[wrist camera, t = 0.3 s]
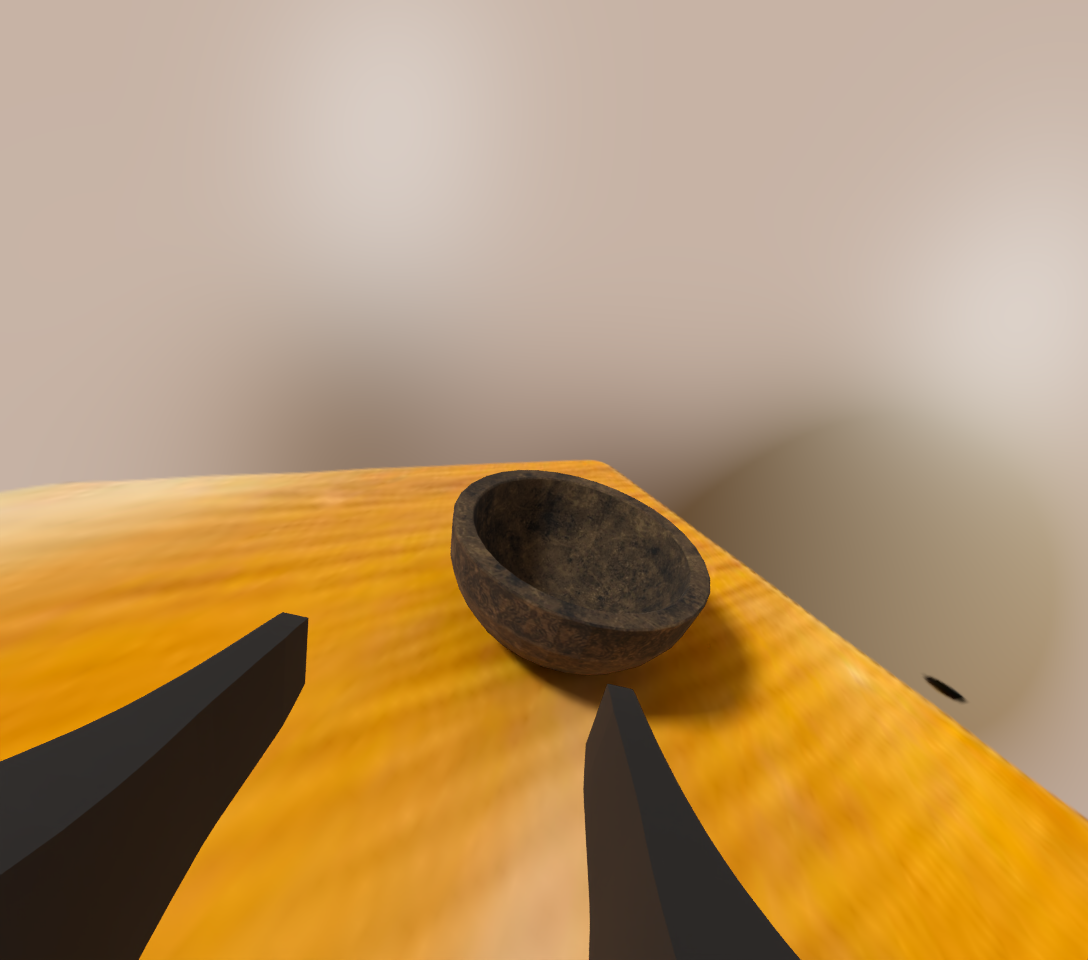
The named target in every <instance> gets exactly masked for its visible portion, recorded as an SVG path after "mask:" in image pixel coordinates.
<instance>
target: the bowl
mask: <svg viewBox="0 0 1088 960" xmlns="http://www.w3.org/2000/svg"><path fill="white" fill-rule="evenodd" d="M451 560H452V564H453V569H454V573H455V576H456V580H457V583H458V586H459V589H460V591H461V593H462V595H463V597H464V599H465V601H466V603H467V605H468V607H469V608H470V609H471V611H472V612H473V614H474V615H475V617H476V618H477V619H478V620H479V622H480V623H481V624H482V625H483V627H484V628H485V629H486V631H487V632H488V633H489V634H491V635H492V636H493V637H494V638H495V639H496V640H497V641H499V642H500V643H501V644H502V645H503V646H505V647H506V648H508V649H509V650H511V651H513V652H514V653H516V654H517V655H519V656H520V657H522V658H525V659H527V660H529V661H531V662H533V663H536V664H538V665H540V666H543V667H546V668H550V669H553V670H557V671H560V672H564V673H572V674H580V675H598V674H608V673H613V672H617V671H622V670H626V669H630V668H634V667H638V666H640V665H642V664H644V663H646V662H647V661H649V660H651V659H653V658H655V657H656V656H658V655H660V654H662V653H663V652H665V651H667V650H668V649H670V648H671V647H672V646H673V645H674V644H675V643H676V642H677V641H678V640H679V639H680V638H681V637H682V636H683V634H684V633H685V632H686V630H687V629H688V628H689V627H690V625H691V624H692V623H693V621H694V620H695V619H696V617H697V616H698V615H699V613H700V612H701V611H702V609H703V608H704V607H705V604H706V602H707V599H708V597H709V594H710V577H709V574H708V571H707V568H706V564H705V562H704V560H703V559H702V557H701V555H700V554H699V552H698V550H697V549H696V547H695V546H694V545H693V544H692V543H691V541H690V540H689V539H688V538H687V537H686V536H685V534H684V533H682V532H681V531H680V530H679V529H678V528H677V527H676V526H675V525H674V524H672V523H671V522H670V521H669V520H667V519H666V518H665V517H663V516H662V515H661V514H659V513H658V512H656V511H655V510H654V509H652V508H650V507H648V506H647V505H645V504H643V503H642V502H640V501H638V500H637V499H635V498H633V497H630V496H628V495H626V494H624V493H622V492H620V491H618V490H616V489H613V488H610V487H608V486H605V485H602V484H600V483H597V482H594V481H590V480H587V479H584V478H580V477H576V476H572V475H567V474H562V473H557V472H548V471H539V470H517V471H508V472H501V473H497V474H493V475H489V476H486V477H484V478H482V479H480V480H478V481H476V482H474V483H472V484H471V485H469V486H468V487H467V488H466V489H465V490H464V491H463V492H462V493H461V494H460V496H459V498H458V500H457V501H456V503H455V506H454V514H453V525H452V539H451Z"/></svg>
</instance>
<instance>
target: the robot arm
mask: <svg viewBox="0 0 1088 960" xmlns="http://www.w3.org/2000/svg"><path fill="white" fill-rule="evenodd" d="M307 634H308V618H307V617H302V616H297V615H293V614H288V613H284V612H282V613H281V614H279V615H277V616H276V617H274V618H272V619H271V620H269V621H268V622H266V623H264V624H263V625H261V626H260V627H258V628H257V629H255V630H254V631H252V632H251V633H249V634H247V635H246V636H244V637H243V638H241V639H240V640H238V641H236V642H235V643H233V644H232V645H230V646H229V647H227V648H225V649H224V650H222V651H221V652H219V653H217V654H216V655H214V656H212V657H211V658H209V659H207V660H206V661H204V662H203V663H201V664H199V665H198V666H196V667H194V668H193V669H191V670H189V671H188V672H186V673H184V674H183V675H181V676H179V677H177V678H175V679H174V680H172V681H170V682H168V683H167V684H165V685H163V686H161V687H159V688H158V689H156V690H154V691H152V692H151V693H149V694H147V695H145V696H143V697H141V698H140V699H138V700H136V701H134V702H132V703H130V704H128V705H126V706H124V707H122V708H120V709H118V710H116V711H114V712H112V713H110V714H108V715H106V716H104V717H102V718H100V719H98V720H96V721H93V722H91V723H89V724H87V725H85V726H83V727H81V728H79V729H76V730H74V731H72V732H70V733H67V734H65V735H62V736H60V737H58V738H55V739H53V740H51V741H48V742H46V743H44V744H41V745H39V746H36V747H34V748H32V749H29V750H27V751H25V752H22V753H20V754H18V755H15V756H13V757H10V758H8V759H5V760H3V761H0V960H139V958H140V956H141V954H142V952H143V950H144V949H145V947H146V945H147V943H148V941H149V940H150V938H151V936H152V934H153V932H154V930H155V929H156V927H157V925H158V923H159V921H160V919H161V918H162V916H163V914H164V912H165V910H166V909H167V907H168V905H169V903H170V901H171V899H172V898H173V896H174V894H175V892H176V891H177V889H178V887H179V885H180V883H181V882H182V880H183V878H184V876H185V875H186V873H187V871H188V869H189V868H190V866H191V864H192V862H193V861H194V859H195V857H196V855H197V854H198V852H199V850H200V848H201V847H202V845H203V843H204V842H205V840H206V839H207V837H208V835H209V834H210V832H211V831H212V829H213V828H214V826H215V824H216V823H217V821H218V820H219V818H220V817H221V815H222V814H223V813H224V811H225V810H226V808H227V807H228V805H229V804H230V802H231V801H232V799H233V798H234V796H235V795H236V794H237V792H238V791H239V789H240V788H241V786H242V785H243V783H244V782H245V780H246V779H247V778H248V776H249V775H250V773H251V772H252V770H253V769H254V767H255V766H256V764H257V763H258V761H259V760H260V759H261V757H262V756H263V754H264V753H265V751H266V750H267V748H268V747H269V745H270V744H271V742H272V741H273V739H274V738H275V736H276V735H277V733H278V732H279V730H280V729H281V727H282V726H283V724H284V722H285V720H286V719H287V717H288V715H289V713H290V711H291V709H292V708H293V706H294V704H295V702H296V700H297V698H298V696H299V694H300V692H301V690H302V688H303V686H304V684H305V672H306V653H307ZM584 810H585V830H586V847H587V865H588V883H589V903H590V942H589V960H800V958H799V957H798V956H797V955H796V954H795V953H794V951H793V950H792V949H791V948H790V947H789V945H788V944H787V943H786V942H785V941H784V939H783V938H782V937H781V936H780V934H779V933H778V932H777V931H776V929H775V928H774V927H773V925H772V924H771V923H770V922H769V920H768V919H767V918H766V916H765V915H764V914H763V912H762V911H761V910H760V909H759V907H758V906H757V905H756V903H755V902H754V901H753V899H752V898H751V897H750V895H749V894H748V893H747V892H746V890H745V889H744V888H743V886H742V885H741V883H740V882H739V881H738V879H737V878H736V876H735V875H734V873H733V872H732V871H731V869H730V868H729V866H728V865H727V863H726V862H725V860H724V859H723V857H722V856H721V854H720V853H719V851H718V850H717V848H716V847H715V845H714V844H713V842H712V841H711V839H710V837H709V836H708V834H707V833H706V831H705V829H704V828H703V826H702V824H701V823H700V821H699V819H698V818H697V816H696V814H695V813H694V811H693V809H692V807H691V806H690V804H689V802H688V800H687V799H686V797H685V795H684V793H683V792H682V790H681V788H680V786H679V784H678V782H677V781H676V779H675V777H674V775H673V773H672V771H671V769H670V767H669V765H668V763H667V761H666V759H665V757H664V755H663V753H662V751H661V749H660V747H659V745H658V743H657V741H656V739H655V737H654V735H653V732H652V730H651V728H650V726H649V724H648V722H647V719H646V717H645V715H644V713H643V710H642V708H641V706H640V704H639V701H638V699H637V697H636V694H635V693H634V691H633V689H629V688H625V687H620V686H616V685H611V684H607V686H606V689H605V692H604V695H603V698H602V700H601V703H600V706H599V709H598V712H597V715H596V717H595V720H594V723H593V726H592V729H591V731H590V734H589V737H588V740H587V743H586V751H585V768H584Z"/></svg>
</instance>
